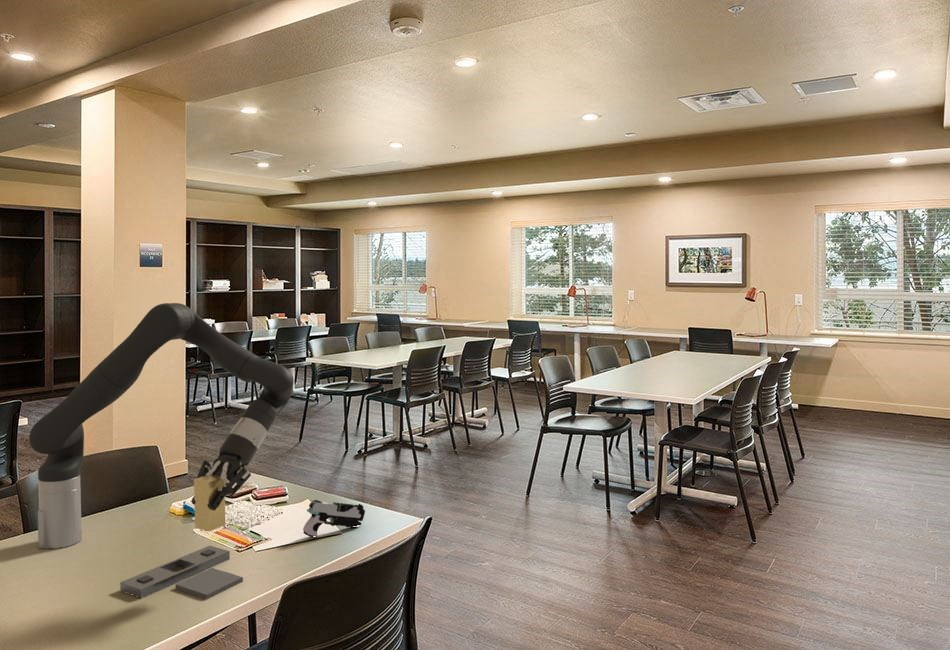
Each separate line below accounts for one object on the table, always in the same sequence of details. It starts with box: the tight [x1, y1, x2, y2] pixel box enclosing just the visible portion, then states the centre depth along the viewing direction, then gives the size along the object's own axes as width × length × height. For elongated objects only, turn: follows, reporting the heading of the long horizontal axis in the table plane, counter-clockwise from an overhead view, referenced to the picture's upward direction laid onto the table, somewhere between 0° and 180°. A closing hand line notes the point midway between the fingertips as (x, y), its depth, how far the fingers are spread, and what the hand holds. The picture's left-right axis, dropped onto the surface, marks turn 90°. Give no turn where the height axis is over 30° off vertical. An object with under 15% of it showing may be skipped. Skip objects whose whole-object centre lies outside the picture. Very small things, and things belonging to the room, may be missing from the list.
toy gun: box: [302, 499, 366, 538], centre depth 185 cm, size 2×17×10 cm, turn 128°
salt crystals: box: [191, 500, 283, 530], centre depth 197 cm, size 20×20×2 cm
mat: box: [174, 567, 244, 600], centre depth 152 cm, size 10×10×1 cm
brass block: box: [193, 475, 226, 532], centre depth 152 cm, size 4×4×11 cm
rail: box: [119, 545, 231, 599], centre depth 158 cm, size 24×7×2 cm, turn 152°
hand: (202, 506), depth 150 cm, fingers closed on brass block, 4 cm apart
